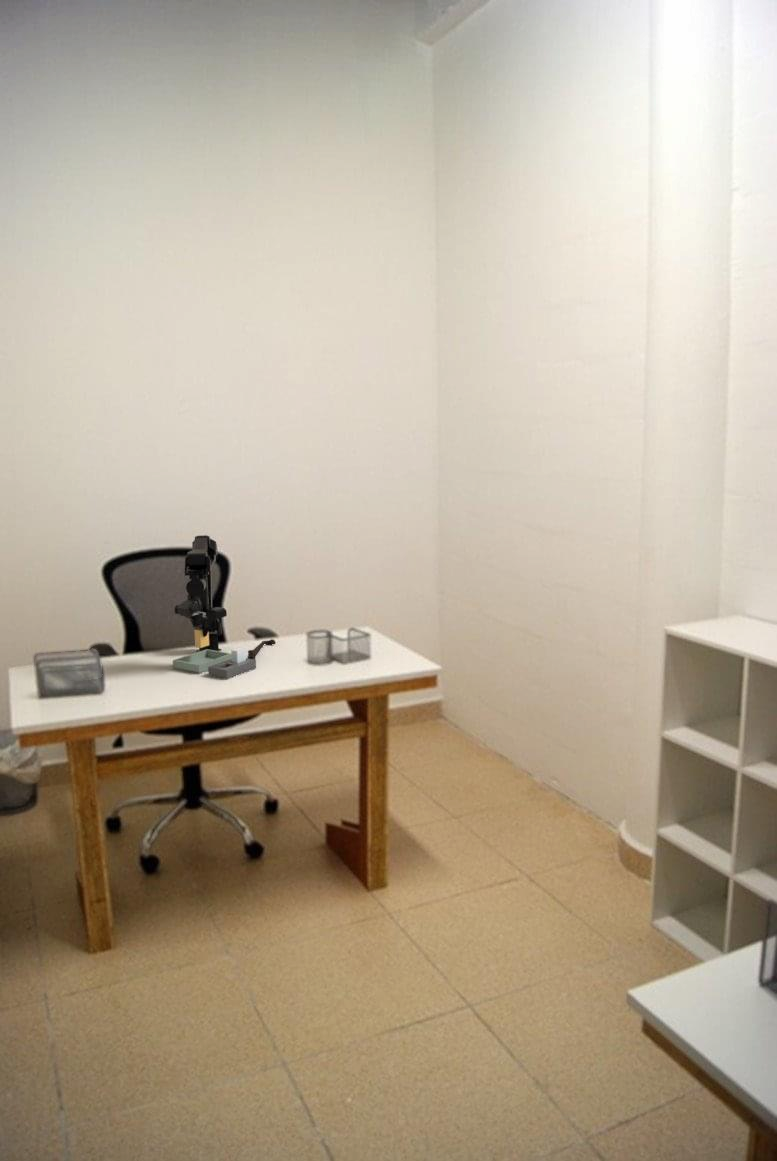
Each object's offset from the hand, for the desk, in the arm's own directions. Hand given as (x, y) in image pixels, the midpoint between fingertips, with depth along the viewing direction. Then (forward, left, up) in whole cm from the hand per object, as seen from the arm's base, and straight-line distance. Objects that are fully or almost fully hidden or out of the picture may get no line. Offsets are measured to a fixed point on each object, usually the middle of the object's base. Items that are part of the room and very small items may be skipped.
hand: (201, 635), depth 297 cm
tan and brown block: (0, 0, -4) cm, 4 cm away
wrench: (+9, +20, -11) cm, 24 cm away
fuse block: (+14, -1, -10) cm, 17 cm away
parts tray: (0, 0, -10) cm, 10 cm away
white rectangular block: (+14, +2, -10) cm, 18 cm away
